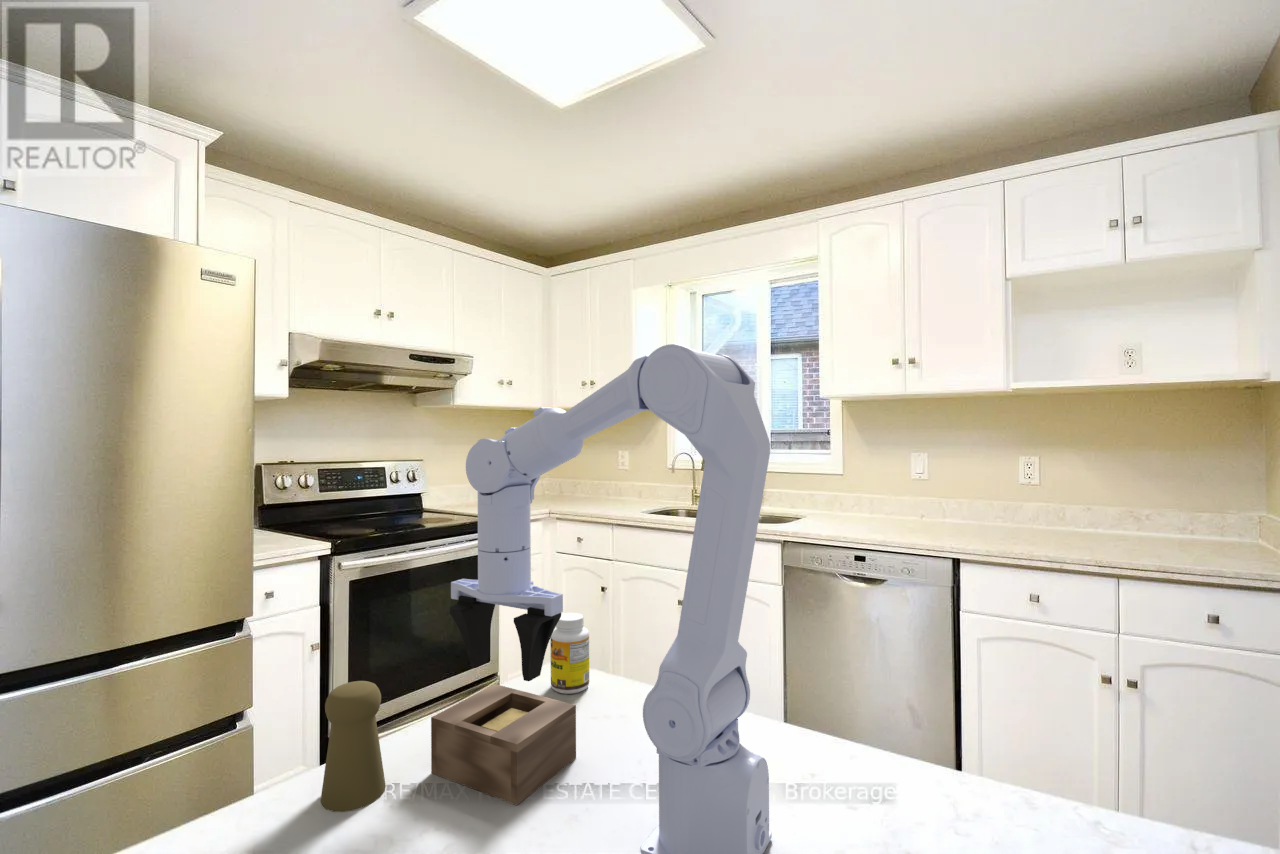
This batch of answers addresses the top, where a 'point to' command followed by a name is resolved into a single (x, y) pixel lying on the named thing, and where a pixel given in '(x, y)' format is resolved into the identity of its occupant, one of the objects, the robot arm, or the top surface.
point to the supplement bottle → (570, 654)
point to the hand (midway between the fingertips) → (505, 671)
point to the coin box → (503, 742)
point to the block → (504, 719)
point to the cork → (353, 748)
